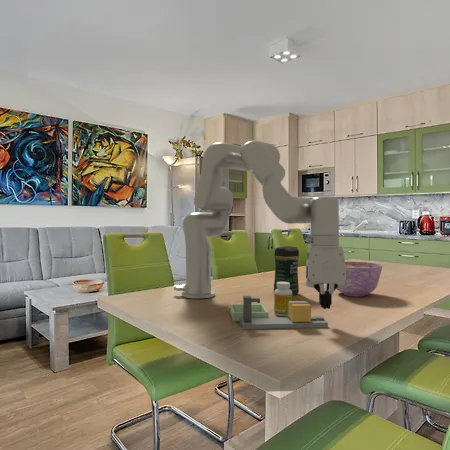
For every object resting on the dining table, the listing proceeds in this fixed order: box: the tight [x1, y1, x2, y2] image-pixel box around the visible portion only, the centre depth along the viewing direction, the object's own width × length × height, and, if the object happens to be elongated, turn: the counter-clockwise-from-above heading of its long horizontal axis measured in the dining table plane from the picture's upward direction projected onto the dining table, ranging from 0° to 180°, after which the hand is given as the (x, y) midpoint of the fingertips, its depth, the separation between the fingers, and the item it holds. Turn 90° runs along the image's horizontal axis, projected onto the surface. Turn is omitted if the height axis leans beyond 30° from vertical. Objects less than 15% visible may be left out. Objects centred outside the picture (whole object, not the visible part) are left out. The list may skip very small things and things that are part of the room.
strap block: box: [287, 300, 312, 322], centre depth 101 cm, size 5×5×5 cm
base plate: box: [240, 316, 329, 330], centre depth 100 cm, size 23×6×2 cm, turn 94°
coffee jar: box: [273, 245, 300, 296], centre depth 141 cm, size 10×8×19 cm
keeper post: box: [242, 295, 261, 323], centre depth 100 cm, size 4×2×8 cm, turn 94°
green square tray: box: [229, 303, 269, 323], centre depth 109 cm, size 10×10×2 cm
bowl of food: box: [336, 261, 383, 297], centre depth 141 cm, size 20×20×12 cm
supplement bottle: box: [273, 282, 293, 317], centre depth 112 cm, size 5×5×10 cm
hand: (325, 307), depth 101 cm, fingers closed
